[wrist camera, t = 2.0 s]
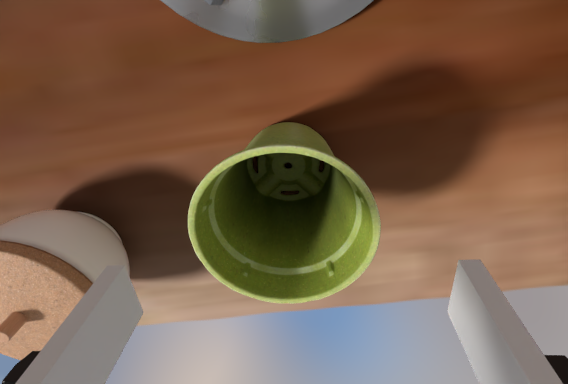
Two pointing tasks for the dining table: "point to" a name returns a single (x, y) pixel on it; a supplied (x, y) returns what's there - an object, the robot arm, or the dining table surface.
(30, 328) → the lidded jar
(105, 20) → the dining table surface
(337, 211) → the plant pot
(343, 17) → the hub
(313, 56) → the dining table surface
